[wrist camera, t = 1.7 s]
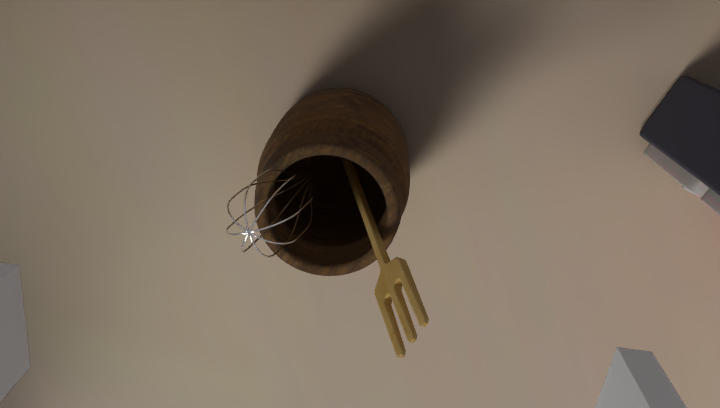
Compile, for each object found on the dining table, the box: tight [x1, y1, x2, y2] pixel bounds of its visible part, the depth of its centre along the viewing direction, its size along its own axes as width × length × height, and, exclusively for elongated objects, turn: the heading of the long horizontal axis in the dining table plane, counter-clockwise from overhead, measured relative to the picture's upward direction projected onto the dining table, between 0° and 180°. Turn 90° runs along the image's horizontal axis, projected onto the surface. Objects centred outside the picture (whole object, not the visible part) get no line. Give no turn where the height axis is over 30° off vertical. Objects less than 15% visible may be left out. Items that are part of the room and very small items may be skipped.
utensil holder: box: [226, 89, 429, 358], centre depth 22 cm, size 6×6×12 cm
